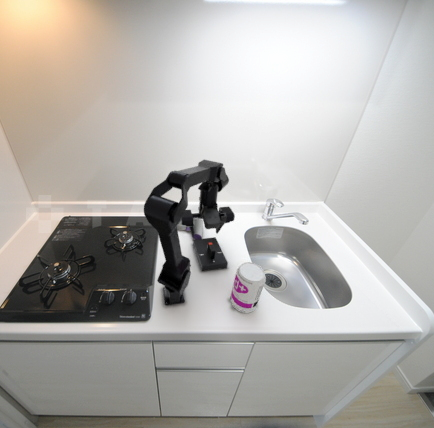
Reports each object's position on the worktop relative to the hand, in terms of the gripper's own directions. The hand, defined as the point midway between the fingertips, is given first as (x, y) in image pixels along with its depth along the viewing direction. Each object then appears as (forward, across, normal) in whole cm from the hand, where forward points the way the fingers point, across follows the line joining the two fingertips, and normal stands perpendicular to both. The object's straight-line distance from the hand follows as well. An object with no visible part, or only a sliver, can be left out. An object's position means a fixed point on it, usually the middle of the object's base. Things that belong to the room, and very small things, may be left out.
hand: (204, 234), depth 78 cm
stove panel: (+12, +3, 0) cm, 12 cm away
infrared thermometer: (+12, -4, +16) cm, 20 cm away
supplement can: (+12, +8, -22) cm, 26 cm away
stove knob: (+9, +3, -2) cm, 9 cm away
